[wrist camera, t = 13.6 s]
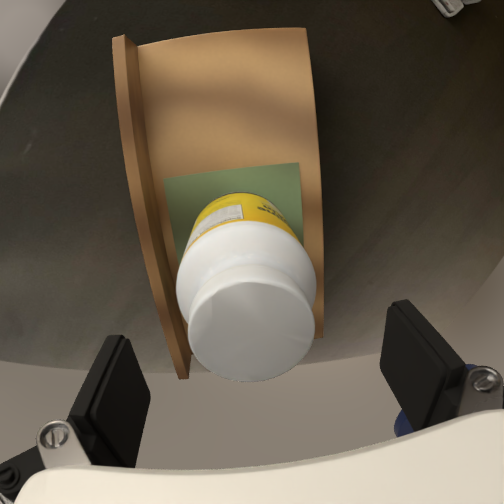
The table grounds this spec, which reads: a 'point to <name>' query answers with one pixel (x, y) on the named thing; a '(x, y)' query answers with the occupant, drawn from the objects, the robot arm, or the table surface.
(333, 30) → the table surface
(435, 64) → the table surface
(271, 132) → the shelf
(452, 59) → the table surface
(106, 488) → the robot arm
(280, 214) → the pill bottle
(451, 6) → the strap clip
